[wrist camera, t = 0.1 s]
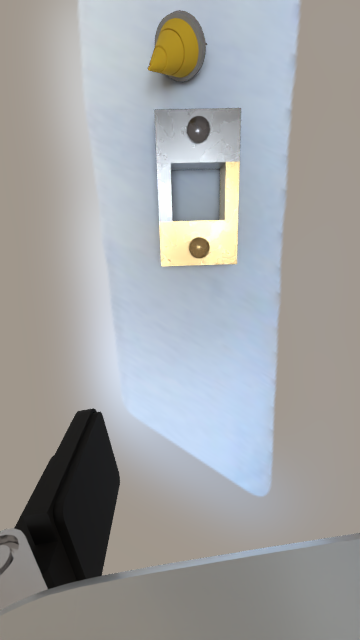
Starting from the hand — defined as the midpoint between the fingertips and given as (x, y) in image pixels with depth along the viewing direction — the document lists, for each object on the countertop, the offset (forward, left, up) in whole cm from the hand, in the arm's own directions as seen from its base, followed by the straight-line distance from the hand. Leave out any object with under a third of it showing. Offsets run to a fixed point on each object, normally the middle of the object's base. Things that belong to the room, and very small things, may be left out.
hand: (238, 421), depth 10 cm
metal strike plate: (-9, -4, -31) cm, 33 cm away
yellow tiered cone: (-19, -13, -31) cm, 39 cm away
